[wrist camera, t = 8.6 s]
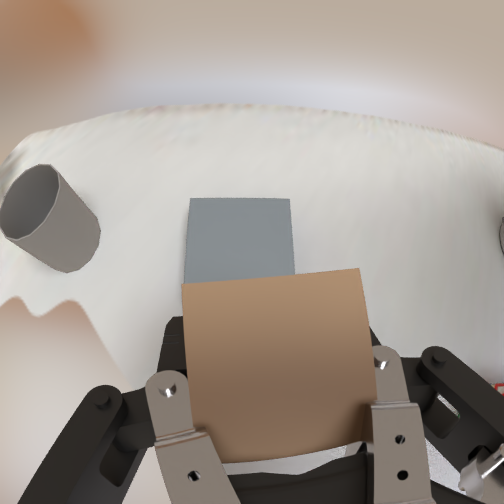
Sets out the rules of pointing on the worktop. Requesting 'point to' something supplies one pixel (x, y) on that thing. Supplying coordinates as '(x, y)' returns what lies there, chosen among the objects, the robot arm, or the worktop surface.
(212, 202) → the slate block
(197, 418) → the walnut block
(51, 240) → the cup
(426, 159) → the worktop surface
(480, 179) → the worktop surface
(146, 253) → the worktop surface
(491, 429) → the robot arm
